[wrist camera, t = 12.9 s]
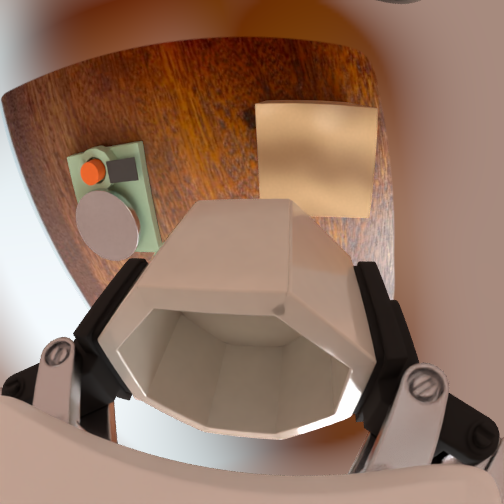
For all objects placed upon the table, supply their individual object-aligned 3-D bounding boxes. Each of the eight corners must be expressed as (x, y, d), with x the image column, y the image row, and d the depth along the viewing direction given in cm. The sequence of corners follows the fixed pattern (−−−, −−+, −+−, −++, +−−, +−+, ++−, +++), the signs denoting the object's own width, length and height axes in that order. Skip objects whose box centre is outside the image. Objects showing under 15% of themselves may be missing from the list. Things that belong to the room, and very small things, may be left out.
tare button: (85, 160, 32) (78, 164, 30) (103, 156, 31) (95, 160, 30) (90, 182, 34) (83, 186, 32) (107, 179, 33) (100, 184, 32)
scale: (71, 151, 34) (58, 156, 31) (142, 136, 32) (130, 141, 30) (96, 246, 43) (87, 256, 40) (163, 247, 41) (155, 258, 38)
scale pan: (66, 169, 32) (61, 171, 32) (134, 156, 31) (130, 158, 30) (91, 256, 40) (88, 259, 39) (156, 258, 38) (153, 262, 37)
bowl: (145, 199, 9) (63, 279, 5) (355, 195, 8) (403, 290, 4) (183, 338, 13) (152, 422, 9) (333, 345, 12) (339, 439, 8)
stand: (267, 100, 28) (254, 103, 18) (347, 102, 27) (377, 108, 17) (270, 174, 33) (260, 215, 23) (345, 176, 32) (369, 218, 22)
